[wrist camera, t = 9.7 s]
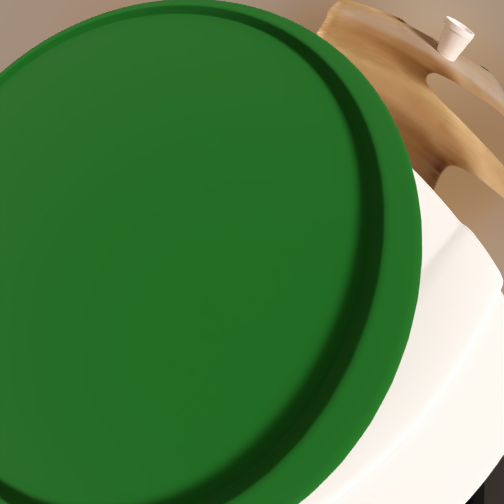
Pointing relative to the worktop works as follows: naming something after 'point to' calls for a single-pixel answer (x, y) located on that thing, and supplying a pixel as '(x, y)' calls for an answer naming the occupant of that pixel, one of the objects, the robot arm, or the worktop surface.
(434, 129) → the worktop surface
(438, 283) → the soya milk
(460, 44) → the foam cup
